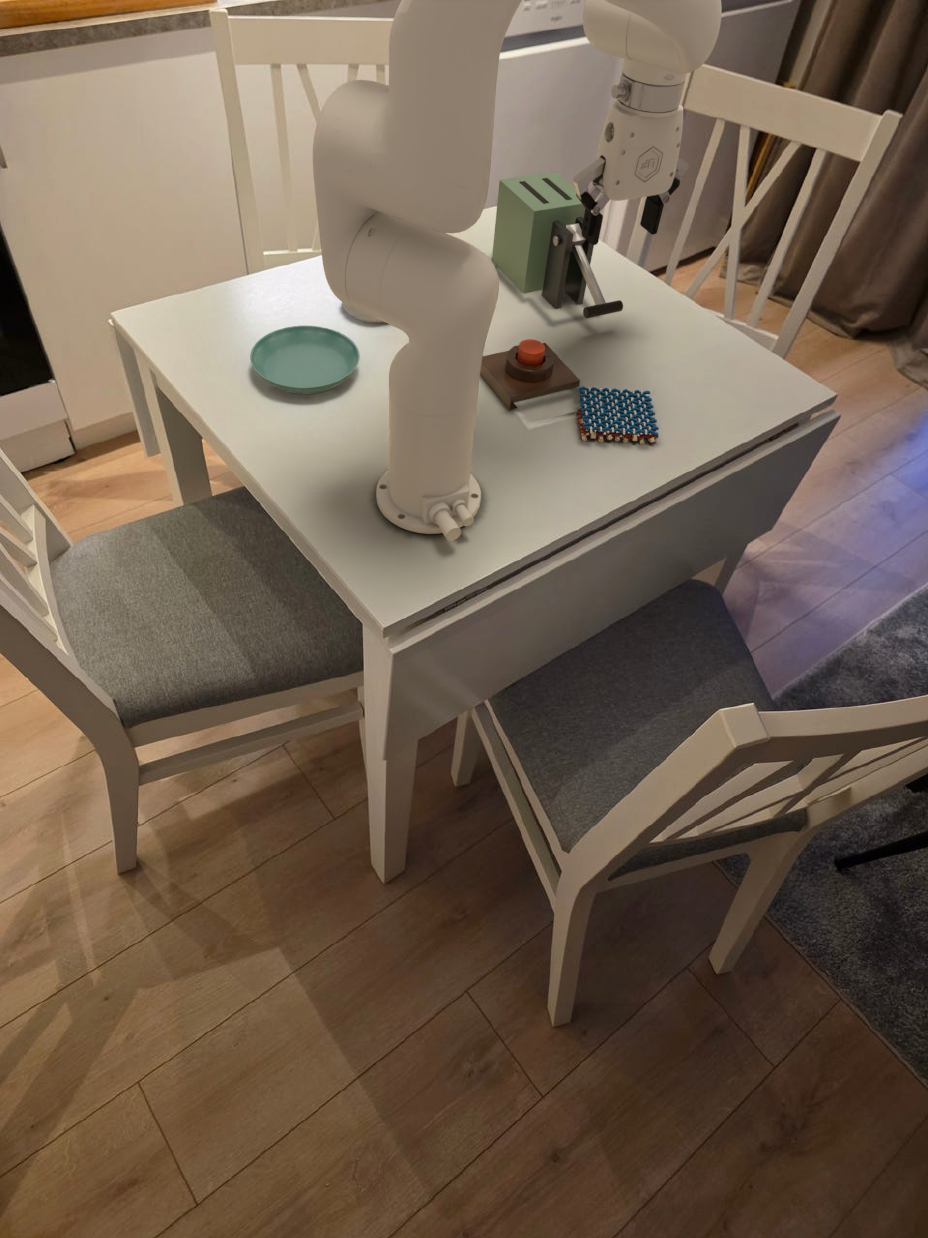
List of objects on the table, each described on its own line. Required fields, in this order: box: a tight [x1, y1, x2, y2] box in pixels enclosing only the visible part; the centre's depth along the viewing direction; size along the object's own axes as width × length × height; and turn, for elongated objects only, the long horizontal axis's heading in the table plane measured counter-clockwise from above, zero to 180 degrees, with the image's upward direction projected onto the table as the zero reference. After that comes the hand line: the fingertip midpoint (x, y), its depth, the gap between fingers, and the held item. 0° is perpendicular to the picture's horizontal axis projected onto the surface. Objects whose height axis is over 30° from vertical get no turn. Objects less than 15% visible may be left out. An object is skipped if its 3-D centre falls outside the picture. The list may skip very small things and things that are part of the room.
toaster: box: [491, 171, 585, 294], centre depth 129 cm, size 11×10×14 cm
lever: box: [565, 223, 624, 319], centre depth 120 cm, size 14×6×2 cm, turn 27°
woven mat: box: [576, 385, 659, 446], centre depth 111 cm, size 10×11×2 cm
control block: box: [480, 342, 581, 411], centre depth 114 cm, size 10×11×4 cm
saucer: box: [249, 325, 361, 395], centre depth 113 cm, size 15×15×3 cm
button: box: [517, 338, 545, 366], centre depth 112 cm, size 4×4×2 cm
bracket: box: [541, 217, 595, 310], centre depth 125 cm, size 8×8×13 cm
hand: (619, 234), depth 111 cm, fingers open, 9 cm apart
